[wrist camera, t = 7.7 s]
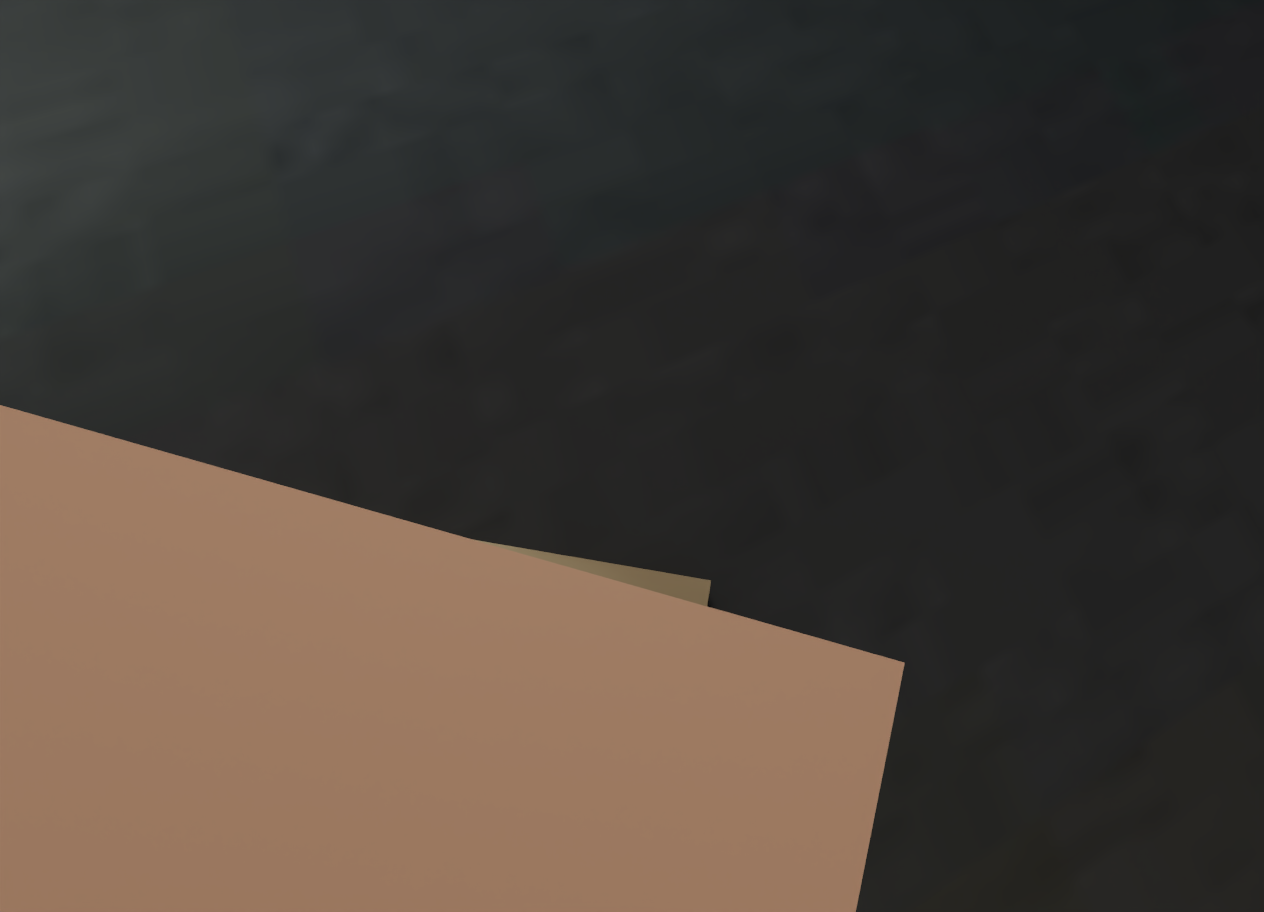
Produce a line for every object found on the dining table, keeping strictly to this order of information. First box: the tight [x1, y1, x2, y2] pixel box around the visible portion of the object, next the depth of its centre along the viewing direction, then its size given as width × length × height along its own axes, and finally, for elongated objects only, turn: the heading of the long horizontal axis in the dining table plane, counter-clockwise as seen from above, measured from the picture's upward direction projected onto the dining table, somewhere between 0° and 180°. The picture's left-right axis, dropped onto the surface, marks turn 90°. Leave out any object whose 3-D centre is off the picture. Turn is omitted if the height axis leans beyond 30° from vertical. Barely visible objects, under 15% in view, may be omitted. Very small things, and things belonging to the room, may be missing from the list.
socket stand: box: [475, 540, 711, 606], centre depth 20 cm, size 12×12×4 cm
